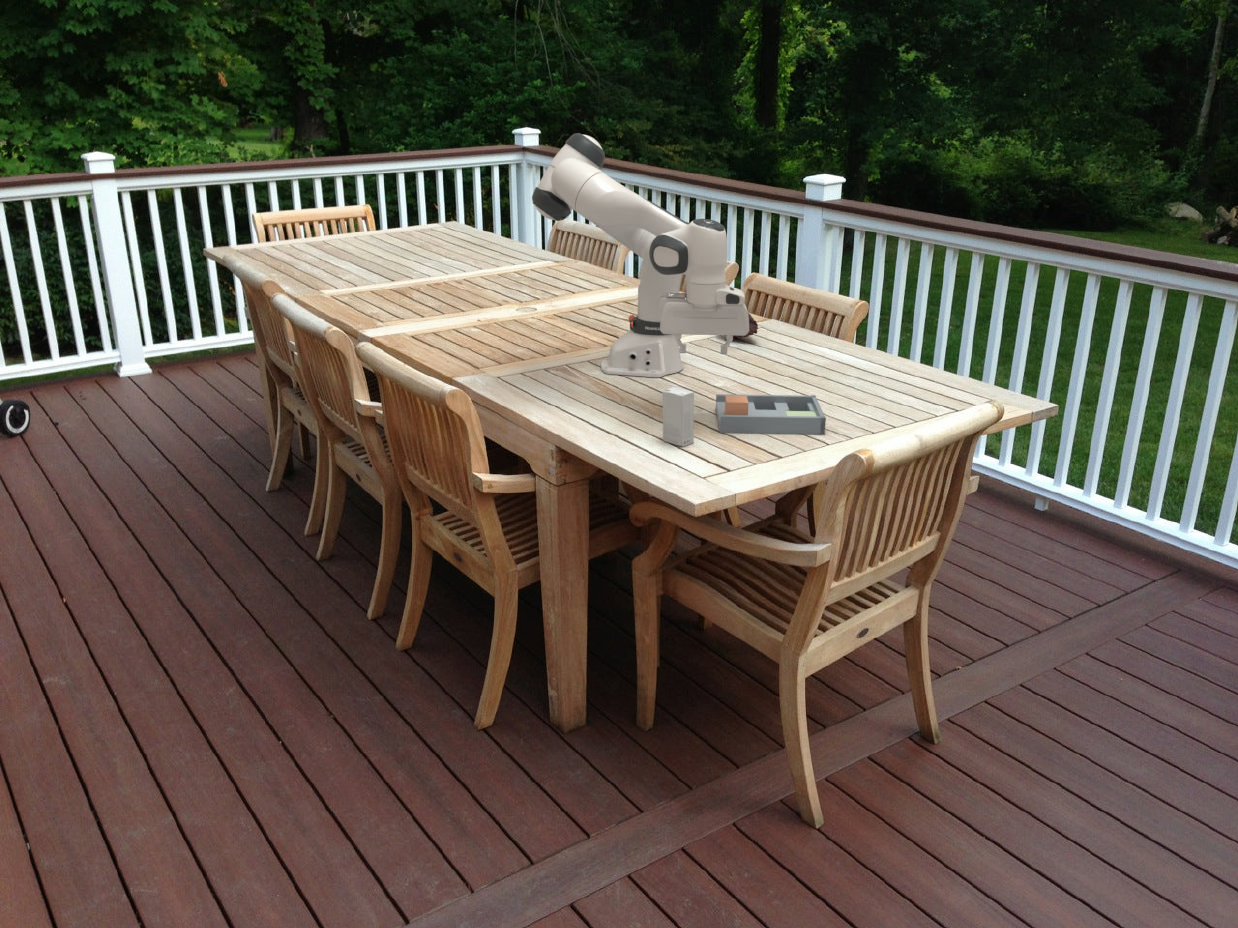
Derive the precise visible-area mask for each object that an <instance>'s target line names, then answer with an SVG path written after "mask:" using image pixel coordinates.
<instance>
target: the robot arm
mask: <svg viewBox="0 0 1238 928" xmlns="http://www.w3.org/2000/svg"><path fill="white" fill-rule="evenodd" d="M605 161H606V155H605V151H604V149H603V148H602V146H601V144H600V143H599V142H598V140H596V139H595V138H594V137H592V136H590V135H587V134H582V133H580V132H577V133H573V134H572V135H570V136H569V138H568V139H567V140H565V144H564V145H563V146H562V147H561V149H559V151H558V152H557V153H556V154H555V156H554V157H553V158H552V160H551V162H549V166H547V169H546V170H545V172H544V173H543V176H542V177H541V178H540V181H539V183H538V185H537V186H536V187H535V188H534V190H533V193H532V197H531V200H532V204H533V205H534V207H535V209H536V210H537V211H538V212H539V214H540V215H542V216H543V217H544V218H545V219H548V220H552V221H557V222H561V221H565V219H567V218H568V217H569V216H570V215H571V214H572V211H575V212H576V213H577V214H579V215H580V216H582V218H584V219H585V220H588V221H589V222H591V223H592V224H594V225H595V226H596V227H598V228H599V229H600V230H601V231H603V232H604V233H606V234H607V235H608V236H609V237H611V238H612V239H614V240H615V241H617V242H619V243H620V244H621V245H623V246H624V247H626V248H627V249H628V250H630V251H631V252H633V253H634V254H635V255H637V256H638V257H639V258H641V259H642V270H641V276H640V281H639V285H638V288H637V315H634V314H630V315H629V316H628V322H629V330H628V331H627V332H626V333H624V334H622V335H621V336H620V337H619V338H617V339H616V340H614V341H613V342H612V344H611V346H610V349H609V352H608V356H607V357H604V358H603V360H602V361H600V370H601V371H602V372H603V373H604V374H608V375H620V376H631V377H645V378H646V377H648V378H661V377H664V376H667V375H670V374H671V375H672V374H676V373H678V372H681V371H682V370H683V369H684V366H683V361H682V358H681V357H682V356H681V354H687V344H686V343H683V342H682V341H681V339H682V336H683V335H687V336H688V335H690V336H691V335H692V336H693V335H695V336H724V335H726V336H725V338H726V341H725V342H724V344H721V345H720V355H728V348H729V346H730V345H731V344H732V342H733V340H734V338H733V335H735V336H745V335H746V334H747V333H748V332H749V317H748V313H749V312H748V308H747V305H746V304H745V302H746V301H745V300H746V296H745V295H746V294H745V293H744V291H742V289H739V288H736V287H733V286H730V285H728V284H726V283H727V279H726V278H727V277H726V273H725V271H726V270H725V269H726V266H727V262H728V236H727V232H726V228H725V226H724V225H723V224H721V223H720V222H719V221H716V220H713V219H707V218H697V219H696V218H694V219H693V220H692V221H690V222H688V221H685V220H683V219H682V218H680V217H678V216H677V215H675V214H673V213H672V212H670V211H668V210H666V209H665V208H663V207H661V206H660V205H658V204H656V203H654V202H653V201H652V200H648V198H645V197H643V196H641V195H640V194H638V193H636V192H634V191H632V190H631V189H629V188H627V187H626V186H625V185H622V184H621V183H620V182H618V181H617V180H615V179H614V178H612V177H610V176H609V175H608V174H607V173H605V172H603V171H602V170H603V166H604V163H605ZM600 169H601V170H600ZM683 275H685V277H686V284H685V285H686V287H685V292H680V286H681V282H682V276H683Z"/></svg>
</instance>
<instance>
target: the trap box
mask: <svg viewBox="0 0 1238 928" xmlns="http://www.w3.org/2000/svg"><path fill="white" fill-rule="evenodd" d="M715 395H716V396H715V397H716V398H715V414H716V419H717V423H718V425H717V426H718V430H719V434H761V435H762V434H768V435H777V434H778V435H779V434H781V435H825V433H826V430H825V429H826V421H827V418H826V416H825V413H824V412H823V409H822V407H821V405H820V403H819V400H818V398H817V395H816V394H810V395H800V394H799V395H798V394H797V395H796V394H795V395H794V394H792V395H789V394H783V395H782V394H729V393H728V394H727V393H726V394H725V393H723V394H722V393H719V394H715ZM725 396H747V399H748V402H749V404H748V415H725Z"/></svg>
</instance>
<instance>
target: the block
mask: <svg viewBox="0 0 1238 928" xmlns="http://www.w3.org/2000/svg"><path fill="white" fill-rule="evenodd" d="M748 404H749V402H748V399H747V396H725V415H748Z"/></svg>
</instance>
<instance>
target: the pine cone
mask: <svg viewBox="0 0 1238 928" xmlns="http://www.w3.org/2000/svg"><path fill="white" fill-rule="evenodd" d="M748 317H749V332H748V333H747V334H746V335H745V336H735V335H733V339H737V338H739V339H742V338H746V337H747V338H748V337H749V336H753V335H754V334H758V332H759V331H758V329H759V325H758V323H757V321H756V320H755V319H754V317H752V315H751V314H750V313H749V312H748ZM723 336H724V337H726V335H723Z"/></svg>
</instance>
